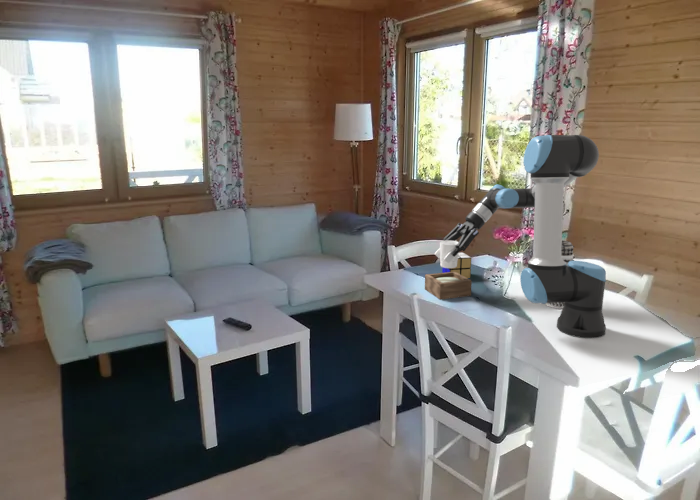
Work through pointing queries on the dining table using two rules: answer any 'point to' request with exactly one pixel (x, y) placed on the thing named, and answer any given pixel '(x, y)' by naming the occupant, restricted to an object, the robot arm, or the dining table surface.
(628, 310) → the dining table surface
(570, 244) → the decorative candle
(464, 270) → the puzzle cube
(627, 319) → the dining table surface
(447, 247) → the white cup
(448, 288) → the wooden box
